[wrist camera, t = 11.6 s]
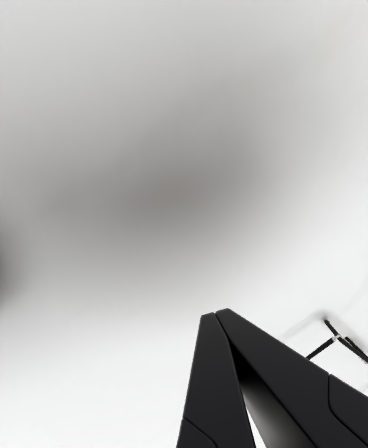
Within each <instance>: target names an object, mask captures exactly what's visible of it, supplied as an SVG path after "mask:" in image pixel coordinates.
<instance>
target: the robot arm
mask: <svg viewBox="0 0 368 448" xmlns="http://www.w3.org/2000/svg"><path fill="white" fill-rule="evenodd" d="M245 405H246V406H245ZM246 407H247V409H248V411H249V413H250V415H251V417H252V419H253V421H254V423H255V425H256V427H257V429H258V431H259V433H260V436H261V438H262V440H263V442H264V444H265V446H266V448H368V396H366V395H364V394H363V393H361V392H359V391H358V390H356V389H354V388H353V387H351V386H350V385H348V384H346V383H345V382H343V381H342V380H340V379H338V378H337V377H335V376H334V375H332V374H330V375H329V373H328V372H327V371H325V370H324V369H322V368H321V367H319V366H317V365H316V364H314V363H313V362H311V361H310V360H308V359H307V358H305V357H303V356H302V355H300V354H299V353H297V352H296V351H294V350H293V349H291V348H289V347H288V346H286V345H285V344H283V343H282V342H280V341H279V340H277V339H276V338H274V337H272V336H271V335H269V334H268V333H266V332H265V331H263V330H262V329H260V328H258V327H257V326H255V325H254V324H252V323H251V322H249V321H248V320H246V319H245V318H243V317H241V316H240V315H238V314H237V313H235V312H234V311H232V310H231V309H228V308H226V309H223V310H219V311H216V313H213V312H212V313H208V314H205V315H202V316H201V318H200V324H199V329H198V335H197V340H196V346H195V351H194V357H193V362H192V368H191V373H190V379H189V384H188V390H187V395H186V401H185V406H184V412H183V419H182V421H181V426H180V431H179V437H178V441H177V446H176V448H256V445H255V441H254V437H253V433H252V429H251V426H250V422H249V418H248V414H247V410H246Z"/></svg>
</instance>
